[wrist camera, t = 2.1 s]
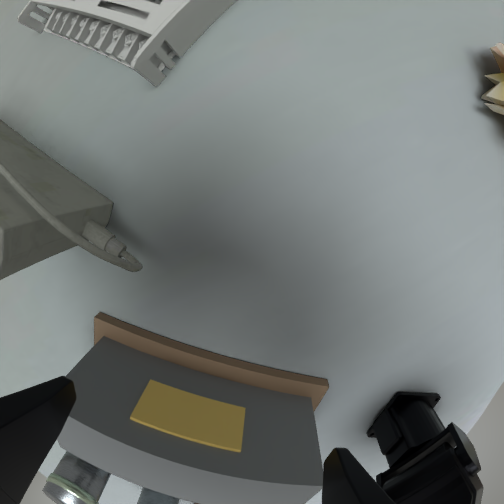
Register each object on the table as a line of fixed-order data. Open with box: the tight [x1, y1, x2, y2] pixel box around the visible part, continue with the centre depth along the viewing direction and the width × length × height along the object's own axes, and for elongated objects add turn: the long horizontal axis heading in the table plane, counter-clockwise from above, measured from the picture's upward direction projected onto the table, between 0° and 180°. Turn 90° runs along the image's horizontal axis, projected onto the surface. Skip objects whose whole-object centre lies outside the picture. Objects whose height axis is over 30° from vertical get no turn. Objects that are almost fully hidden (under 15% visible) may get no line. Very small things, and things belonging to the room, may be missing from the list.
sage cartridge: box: [42, 451, 111, 504], centre depth 19 cm, size 6×6×13 cm
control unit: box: [57, 312, 329, 504], centre depth 17 cm, size 20×9×10 cm, turn 74°
